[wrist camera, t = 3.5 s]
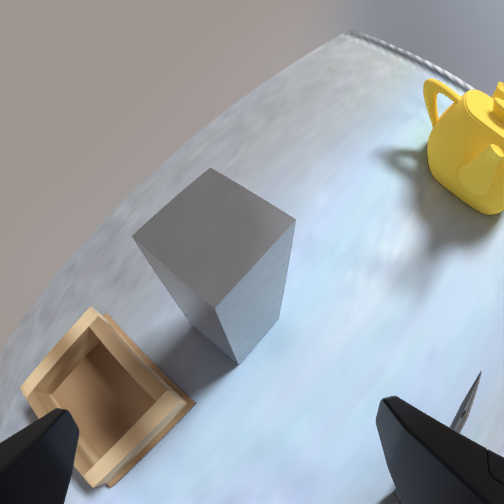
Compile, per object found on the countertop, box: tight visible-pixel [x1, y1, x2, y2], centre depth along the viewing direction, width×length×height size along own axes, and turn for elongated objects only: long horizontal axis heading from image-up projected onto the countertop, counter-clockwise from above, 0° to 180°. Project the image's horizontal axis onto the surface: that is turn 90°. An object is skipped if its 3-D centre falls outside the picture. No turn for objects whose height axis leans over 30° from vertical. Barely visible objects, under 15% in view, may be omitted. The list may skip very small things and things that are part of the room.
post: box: [132, 168, 296, 365], centre depth 16 cm, size 4×4×12 cm
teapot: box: [423, 79, 504, 215], centre depth 25 cm, size 22×16×11 cm
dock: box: [20, 307, 196, 488], centre depth 17 cm, size 10×10×3 cm
